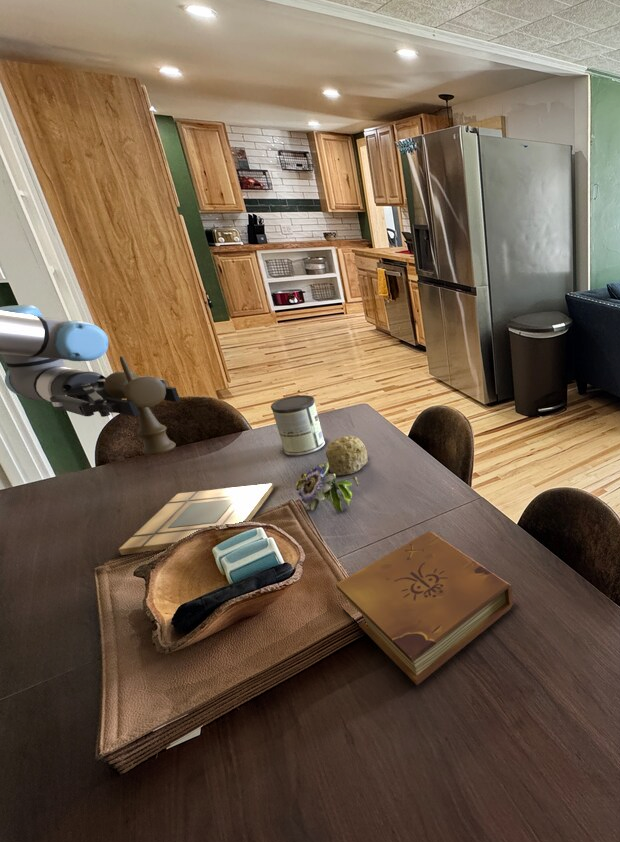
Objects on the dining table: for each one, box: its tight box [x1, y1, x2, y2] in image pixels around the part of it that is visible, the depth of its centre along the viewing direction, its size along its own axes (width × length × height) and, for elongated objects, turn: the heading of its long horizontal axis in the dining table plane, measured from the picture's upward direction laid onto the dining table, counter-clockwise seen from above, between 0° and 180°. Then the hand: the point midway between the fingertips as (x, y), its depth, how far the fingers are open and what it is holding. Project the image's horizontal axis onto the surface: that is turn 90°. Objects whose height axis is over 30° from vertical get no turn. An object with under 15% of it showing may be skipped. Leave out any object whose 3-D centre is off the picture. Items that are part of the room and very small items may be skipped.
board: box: [118, 483, 275, 556], centre depth 104 cm, size 20×20×2 cm
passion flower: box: [295, 461, 360, 512], centre depth 109 cm, size 11×11×12 cm
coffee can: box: [270, 394, 326, 456], centre depth 133 cm, size 10×10×14 cm
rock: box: [325, 435, 369, 476], centre depth 125 cm, size 10×11×10 cm
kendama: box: [104, 355, 177, 456], centre depth 91 cm, size 6×10×20 cm, turn 64°
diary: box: [335, 530, 514, 686], centre depth 81 cm, size 23×19×6 cm
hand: (155, 401), depth 89 cm, fingers closed on kendama, 6 cm apart
